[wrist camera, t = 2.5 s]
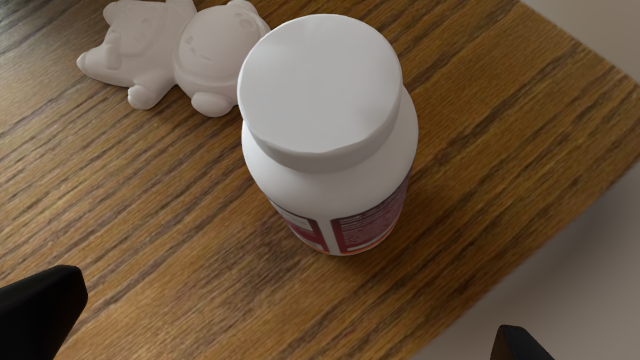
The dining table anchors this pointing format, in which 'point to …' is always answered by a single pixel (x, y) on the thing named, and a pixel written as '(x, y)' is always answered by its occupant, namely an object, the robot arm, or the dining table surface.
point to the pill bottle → (329, 130)
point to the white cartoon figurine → (176, 51)
